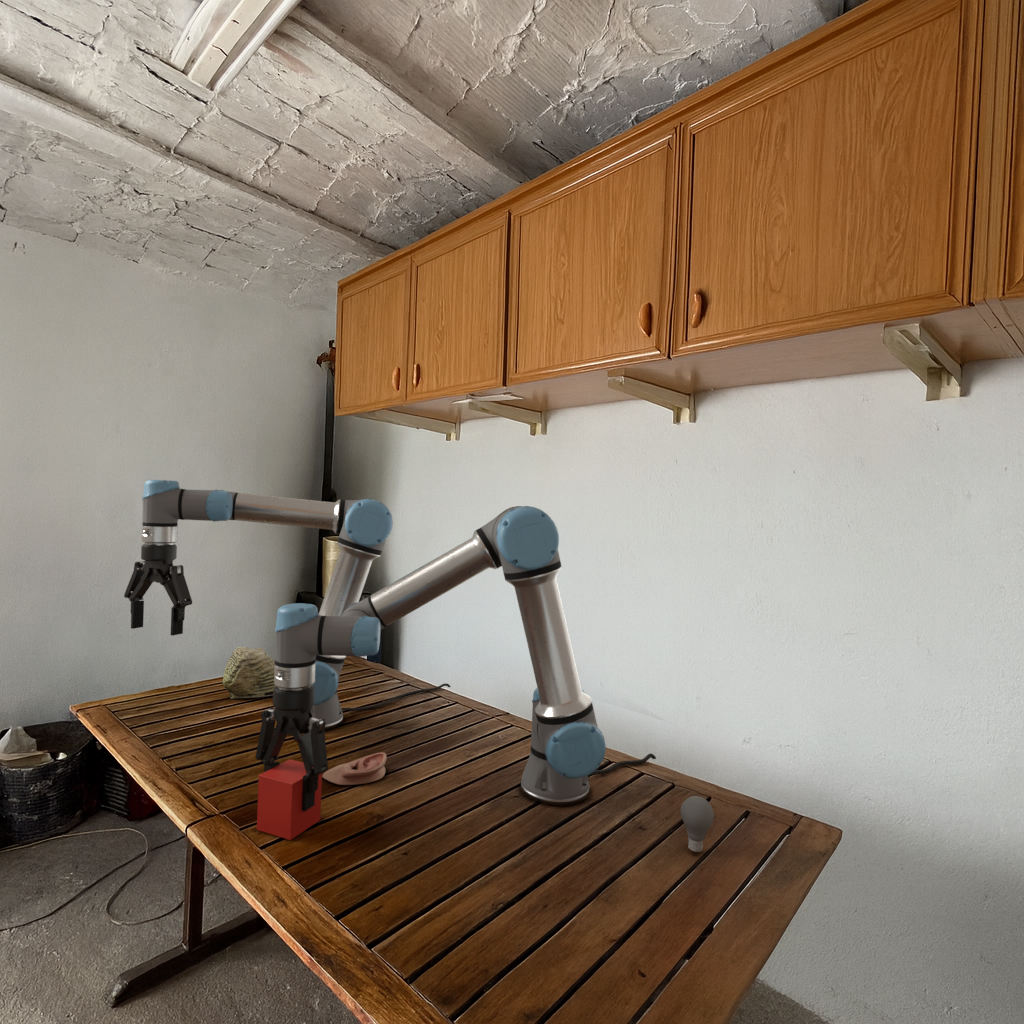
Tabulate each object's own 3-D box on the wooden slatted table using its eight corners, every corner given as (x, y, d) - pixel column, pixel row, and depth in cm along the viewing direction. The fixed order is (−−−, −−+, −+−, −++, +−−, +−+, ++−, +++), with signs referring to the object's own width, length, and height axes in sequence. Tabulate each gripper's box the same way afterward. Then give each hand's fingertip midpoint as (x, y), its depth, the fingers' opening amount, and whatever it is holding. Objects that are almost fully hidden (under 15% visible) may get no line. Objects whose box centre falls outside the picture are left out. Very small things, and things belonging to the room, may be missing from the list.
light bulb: (674, 841, 122) (676, 790, 121) (704, 841, 122) (707, 790, 122) (685, 859, 116) (688, 805, 115) (717, 859, 116) (719, 805, 116)
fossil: (218, 695, 195) (220, 647, 195) (278, 685, 208) (279, 640, 207) (228, 703, 189) (230, 653, 188) (289, 692, 201) (290, 645, 201)
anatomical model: (316, 763, 140) (340, 744, 151) (315, 781, 140) (339, 761, 151) (372, 771, 137) (392, 751, 149) (371, 789, 138) (391, 768, 149)
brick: (256, 829, 120) (258, 775, 120) (288, 810, 127) (289, 759, 127) (290, 840, 117) (292, 784, 116) (320, 820, 124) (322, 767, 124)
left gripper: (109, 540, 154) (106, 627, 155) (183, 548, 145) (180, 640, 145) (137, 539, 161) (135, 622, 162) (210, 546, 152) (207, 634, 152)
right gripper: (237, 681, 122) (233, 798, 122) (325, 699, 114) (320, 824, 114) (266, 672, 129) (262, 783, 129) (351, 688, 121) (346, 806, 121)
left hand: (156, 631), depth 153 cm, fingers open, 13 cm apart
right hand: (289, 802), depth 122 cm, fingers closed on brick, 8 cm apart
